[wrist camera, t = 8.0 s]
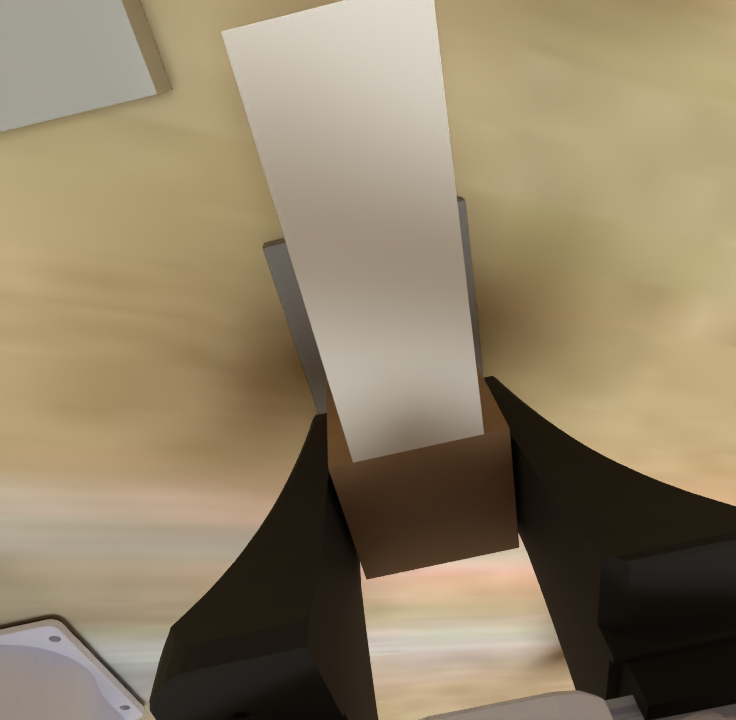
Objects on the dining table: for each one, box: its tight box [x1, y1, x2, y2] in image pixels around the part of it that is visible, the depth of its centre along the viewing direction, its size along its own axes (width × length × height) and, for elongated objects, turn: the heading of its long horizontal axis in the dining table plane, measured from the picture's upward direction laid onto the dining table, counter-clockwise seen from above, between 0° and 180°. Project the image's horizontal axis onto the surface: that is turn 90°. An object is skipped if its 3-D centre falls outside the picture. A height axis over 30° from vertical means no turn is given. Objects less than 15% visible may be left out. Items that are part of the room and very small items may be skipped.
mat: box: [263, 197, 484, 414], centre depth 17 cm, size 9×6×1 cm, turn 12°
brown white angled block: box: [221, 0, 519, 579], centre depth 11 cm, size 11×4×6 cm, turn 12°
